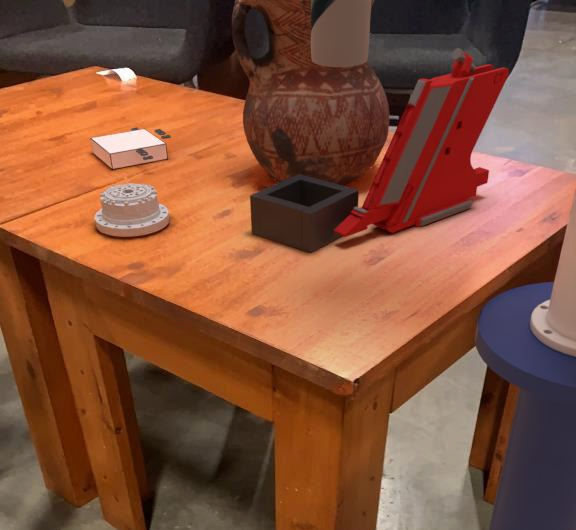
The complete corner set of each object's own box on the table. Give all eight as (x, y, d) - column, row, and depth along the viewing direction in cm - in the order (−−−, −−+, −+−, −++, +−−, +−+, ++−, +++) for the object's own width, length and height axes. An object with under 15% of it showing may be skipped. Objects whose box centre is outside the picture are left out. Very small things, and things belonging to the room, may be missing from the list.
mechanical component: (81, 227, 104) (129, 245, 99) (74, 193, 101) (123, 211, 96) (136, 205, 110) (185, 221, 105) (132, 173, 107) (181, 188, 102)
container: (82, 144, 131) (79, 127, 129) (145, 133, 135) (143, 117, 133) (124, 180, 118) (121, 161, 116) (192, 166, 122) (190, 148, 120)
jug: (330, 144, 128) (333, -38, 112) (416, 178, 116) (434, -22, 99) (218, 173, 119) (203, -21, 102) (298, 213, 106) (295, -1, 89)
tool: (358, 244, 95) (444, 19, 84) (328, 229, 97) (408, 10, 87) (458, 269, 112) (540, 87, 102) (430, 256, 115) (507, 77, 105)
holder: (357, 228, 102) (359, 189, 99) (310, 253, 96) (310, 213, 93) (299, 210, 107) (299, 173, 103) (251, 233, 101) (249, 195, 98)
